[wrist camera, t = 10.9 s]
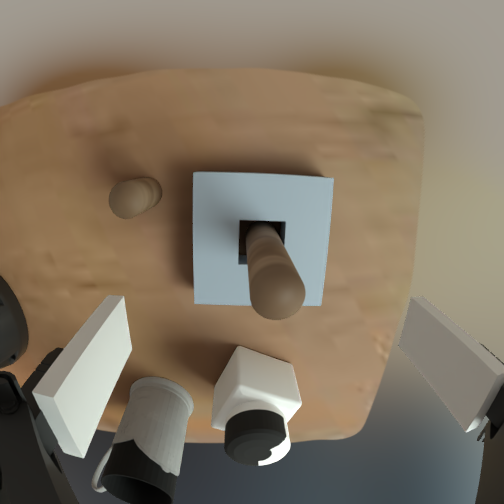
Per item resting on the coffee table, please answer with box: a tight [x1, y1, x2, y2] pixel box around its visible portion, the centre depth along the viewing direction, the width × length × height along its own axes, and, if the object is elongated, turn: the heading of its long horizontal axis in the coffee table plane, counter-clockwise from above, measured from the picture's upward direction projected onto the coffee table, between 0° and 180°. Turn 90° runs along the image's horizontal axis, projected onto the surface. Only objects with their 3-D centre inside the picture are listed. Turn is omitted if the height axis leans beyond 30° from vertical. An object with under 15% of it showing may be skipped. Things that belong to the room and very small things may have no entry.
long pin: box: [245, 220, 306, 320], centre depth 23 cm, size 3×3×14 cm
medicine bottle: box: [211, 346, 302, 466], centre depth 29 cm, size 7×7×12 cm
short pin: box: [109, 177, 162, 219], centre depth 25 cm, size 3×3×6 cm
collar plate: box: [193, 171, 334, 306], centre depth 28 cm, size 12×12×3 cm
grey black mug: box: [92, 377, 194, 504], centre depth 29 cm, size 9×14×15 cm, turn 125°
